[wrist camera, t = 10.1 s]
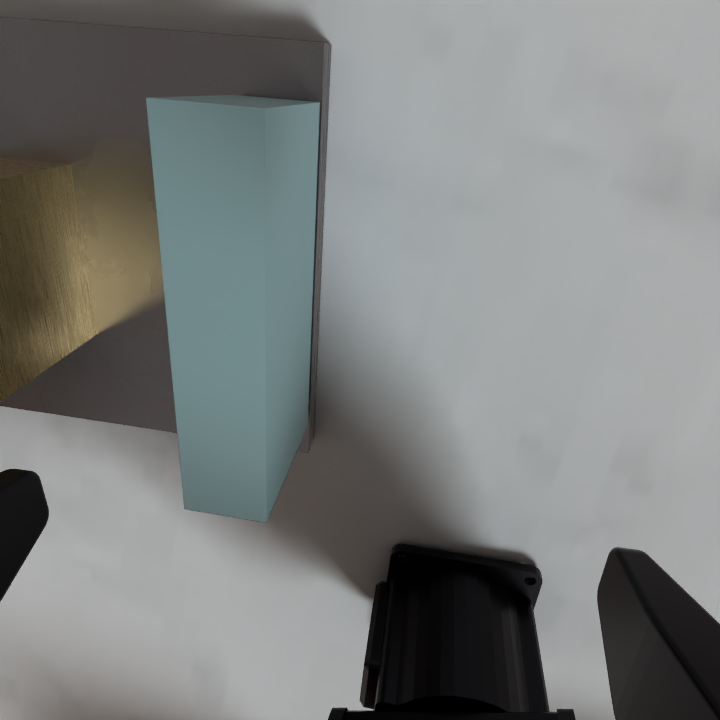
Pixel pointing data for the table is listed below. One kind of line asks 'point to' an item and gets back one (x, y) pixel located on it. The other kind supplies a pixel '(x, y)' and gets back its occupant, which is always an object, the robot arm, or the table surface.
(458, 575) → the robot arm
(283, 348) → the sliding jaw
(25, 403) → the vise base
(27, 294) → the brass block
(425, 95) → the table surface
